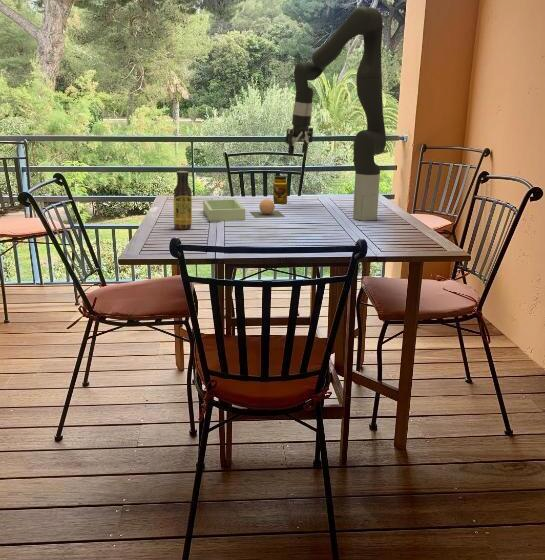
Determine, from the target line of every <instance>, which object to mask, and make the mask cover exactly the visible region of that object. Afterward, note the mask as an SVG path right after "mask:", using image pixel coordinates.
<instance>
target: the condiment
mask: <svg viewBox="0 0 545 560" xmlns="http://www.w3.org/2000/svg"><path fill="white" fill-rule="evenodd" d="M272 190H273V191H272V193H273V194H272V195H273V197H272V198H273V200H272V201H273V202H274V204H281V205H291V203H290V202H288V182H287V176H286V175H275V176H274V180H273V189H272ZM287 203H288V204H287Z"/></svg>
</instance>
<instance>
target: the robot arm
mask: <svg viewBox="0 0 545 560" xmlns="http://www.w3.org/2000/svg"><path fill="white" fill-rule="evenodd" d="M383 21H384V20H383V16H382V12H381V11H380V10H379V9H377V8H373V7H369V6H363V5H362V6H358V7H356V8H355V9H354V10H352V12H351V13H350V14H349V15H348V16H347V18H346V19H345V20H344V21H343V23H342V24H341V25H340V26H339V27H338V29H337V30H336V31H335V32H334V33H333V35H332V36H331V37H330V38H329V39H328V40H327V41H325V43H324V44H322V45H321V46H320V47H319V48H318V49H317V50H315V51H314V53H313V54H312V56H311V58H312V59H311V60H310V61H304V60H303V61H299V62H297V63H296V65H295V67H294V69H293V79H294V88H295V95H294V96H295V98H294V104H293V110H292V120H291V121H292V122H291V125H292V128H287V129H286V135H285V140H284V141H285V142H284V143H285V144H286V145H288V148H287V149H288V150H287V153H288V155H291V156H292V155H294V151H295V145H296V143H297V142H298V141H299V140H302V142H303V143H302V148H301V153H302V154H307V153H308V149H309V145H310V143H313V139H314V138H313V136H314V128H313V127H310V126H311V120H312V112H313V99H314V89H313V87H310V86H309V82H308V81H314V80H317V79H318V78H320V76H321V75H322V74H323V72H324V71H325V69H326V68H327V67H328V66H329V65H330V64H332V63H333V62H334V61H335V60H336V59H337V58H338V57H339V56H340V55H341V53H342V51H343V49H344V48H345V46H346V44H348V42H350V40H352V39H354V38H355V37H357V36H359V35H361V36H363V37H362V38H363V53H362V56H361V57H362V58H361V60H360V63H359V66H358V67H357V72H356V96H357V98H358V101H359V103H360V105H361V107H362V108H363V111H364V114H365V117H366V118H365V119H366V129H363V130H360V131H358V132H357V133H356V135H355V137H354V140H353V166H354V169H355V170H354V171H355V173H354V174H355V175H354V176H355V177H354V192H353V210H352V211H353V212H352V219H354V220H358V221H366V222H367V221H377V220H378V212H379V211H378V210H379V195H380V178H381V167H380V165H378V164H377V163H376V161H375V155H380V154H382V153H383V152H384V150H385V149H386V145H387V144H386V143H387V135H386V128H385V121H384V120H385V119H384V105H383V76H382V75H383V70H382V41H383V28H384V27H383V26H384V25H383V23H384V22H383Z"/></svg>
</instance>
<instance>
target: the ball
mask: <svg viewBox="0 0 545 560" xmlns="http://www.w3.org/2000/svg"><path fill="white" fill-rule="evenodd" d="M273 202H274V201H273V200H271V199H269V198H265V199H262V200H261V201H260V202H259V210H260V211H259V212H262V213H263V214H271V213H272V212H273V211H275V209H276V208H275V207H276V205H274V203H273Z"/></svg>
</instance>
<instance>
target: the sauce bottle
mask: <svg viewBox="0 0 545 560" xmlns="http://www.w3.org/2000/svg"><path fill="white" fill-rule="evenodd" d="M189 175H190V173H189V171H186V170H179V171H178V170H177V171H176V179H177V182H176V186H175V188H174V190H173V227H174V229H176V230H188V229H191V228H192V222H193V221H192V219H193V218H192V217H193V216H192V212H193V211H192V209H193V207H192V204H193V200H192V199H193V198H192V189H191V187H190V185H189Z"/></svg>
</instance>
